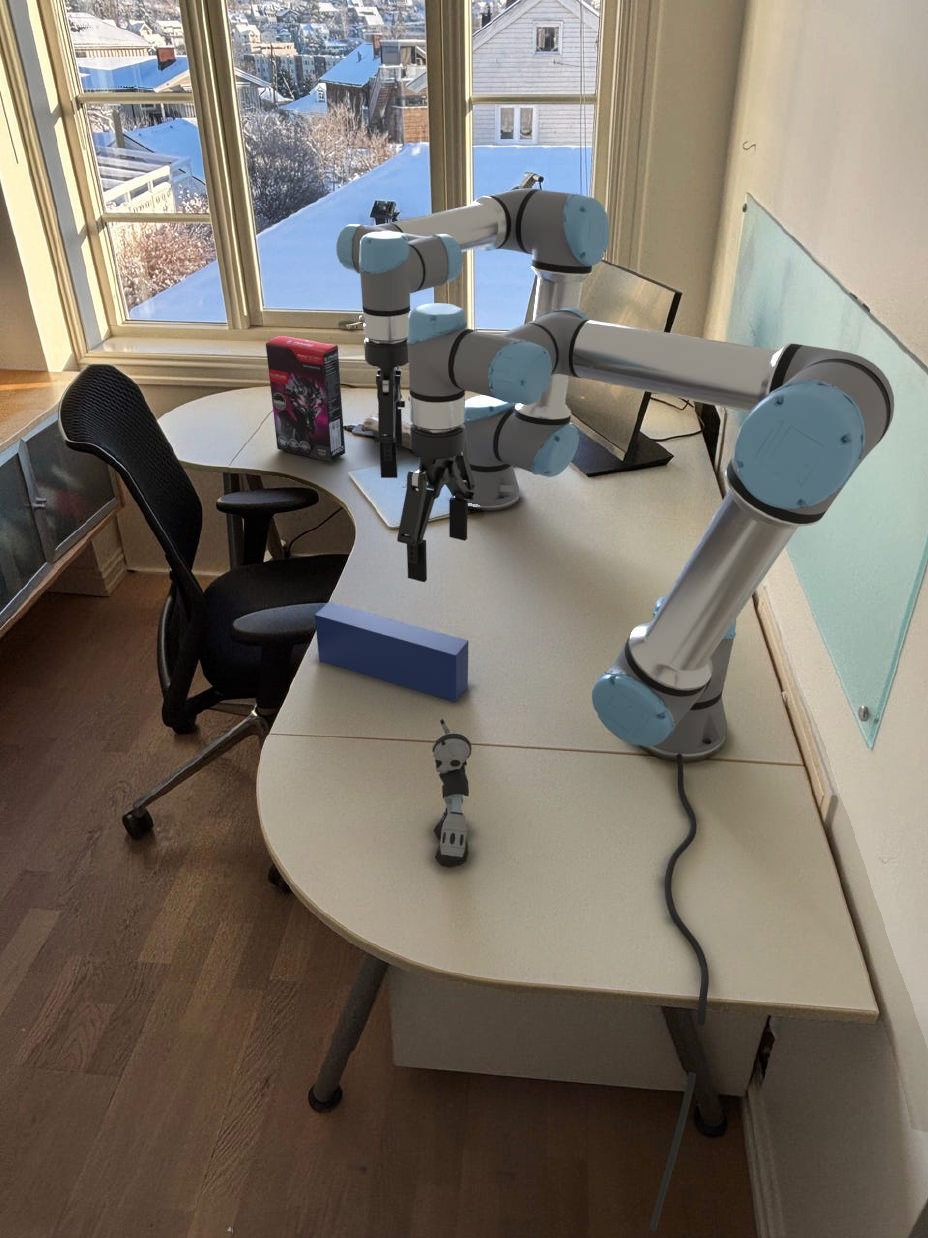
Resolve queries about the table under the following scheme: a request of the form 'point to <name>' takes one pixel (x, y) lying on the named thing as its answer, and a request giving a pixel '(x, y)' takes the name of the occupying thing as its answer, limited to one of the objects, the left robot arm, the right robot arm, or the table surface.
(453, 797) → the robot
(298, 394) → the graphics card box
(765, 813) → the table surface
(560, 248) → the left robot arm
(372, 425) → the stone
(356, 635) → the bar
